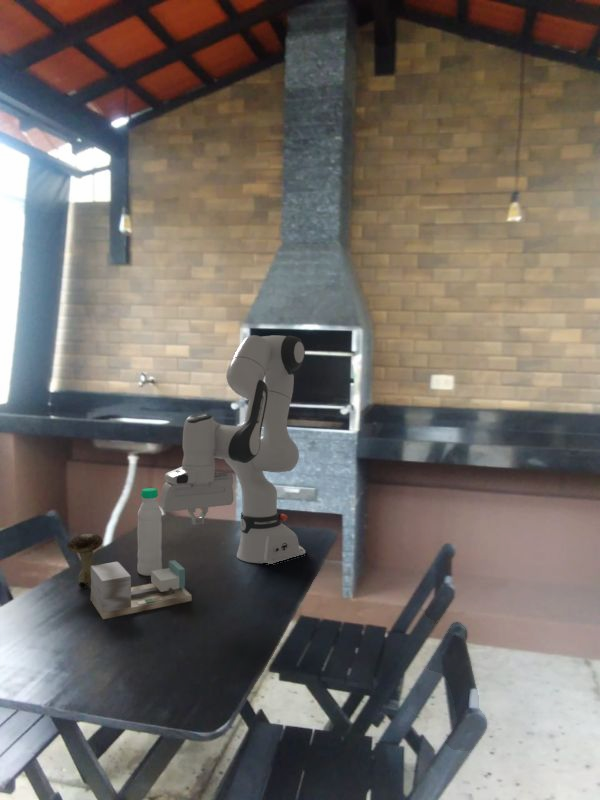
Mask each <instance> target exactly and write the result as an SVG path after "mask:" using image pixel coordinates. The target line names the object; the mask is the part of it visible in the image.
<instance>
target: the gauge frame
mask: <svg viewBox="0 0 600 800" xmlns="http://www.w3.org/2000/svg"><path fill="white" fill-rule="evenodd" d="M173 590H174V591H175V593H171V592H170V591H169V590H168V591H163V592H161V591H160V590H159V589H158V588H157V587H156V586H155V585H154V584H153V583H152V582H151V583H147V584H142V585H137V586H132V576H131V575H130V573H129V572H128V571H127V570H126V568H125V567H123V565H122V564H121V563H120V562H119V561H112V562H107V563H101V564H100V563H99V564H94V565H93V566H91V584H90V602H91V601H92V602H91V603H92V604H93V606H94V607H95V609H96V611H97V612H98V614H99V615H100V617H101V618H102V620H106V619H113V618H116V617H121V616H126V615H132V614H135V613H140V612H145V611H149V610H154V609H159V608H160V609H161V608H163V607H164V608H165V607H169V606H174V605H178V604H183V603H188V602H192V600H193V599H192V596H193V595H192V594H191V592H189V591H188V590H187V589H186V588H185V587H184V588H178V589H173Z"/></svg>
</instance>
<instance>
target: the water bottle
mask: <svg viewBox="0 0 600 800" xmlns="http://www.w3.org/2000/svg"><path fill="white" fill-rule="evenodd" d="M140 493H141V494H140V495H141V496H140V497H141V499H142V503H140V507H139V509H138V511H137V514H136V515H137V555H136V556H137V568H136V569H137V573H138V574H139V575H141V576H146V577H148V576H149V577H151V571H154V570H160V569H163V564H162V563H163V561H162V556H163V554H162V553H163V552H162V551H163V550H162V541H163V540H162V539H163V537H162V536H163V529H162V528H163V525H162V516H163V515H162V514H163V513H162V512H163V511H162V510H161V509H162V508H161V506H159V503H158V502H157V499H158V496H159V491H158V489H157V488H153V487H149V488H143V489H142V490H141V491H140Z"/></svg>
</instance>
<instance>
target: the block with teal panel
mask: <svg viewBox="0 0 600 800" xmlns="http://www.w3.org/2000/svg"><path fill="white" fill-rule="evenodd" d="M150 579H151V580H150V581H151V583H153V584H154V585H155V586H156V587H157V588H158V589H159V590H160V591H161V592H163V591H168V590H169V591H170V592H171V593H175V591H174V590H173V589H178V588H184V589H185V588H186V569H185V568H184V567H183V565H181V564H180V563H178V562H177V560H175V559H173V560H172V559H171V560H168V567H167V568H162V569H160V570H154V571H151V576H150Z"/></svg>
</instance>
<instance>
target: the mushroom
mask: <svg viewBox="0 0 600 800" xmlns="http://www.w3.org/2000/svg"><path fill="white" fill-rule="evenodd" d="M103 541H104V540H103V538H102V536H101V535H99V534H97V533H84V534H79V535H76V536H74V537H73V538H72V539H70V540H69V541H68V542H67V544H66V549H67V551H69V552H70V553H71V552H72V553H77V554H79V556H80V562H81V570H80V572H79V574H78V578H77V582H78V583H77V585H78V587H79V589H89V588H90V587H91V566H93V565H95V563H94V551H95V550H97V549H98V548H100V547H101V546H102V544H103Z"/></svg>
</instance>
